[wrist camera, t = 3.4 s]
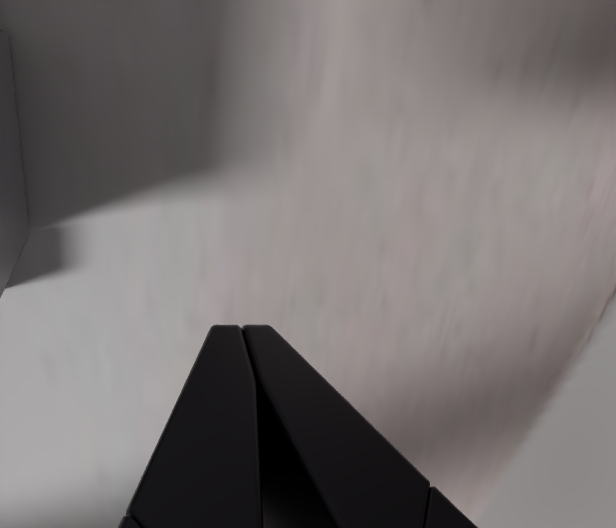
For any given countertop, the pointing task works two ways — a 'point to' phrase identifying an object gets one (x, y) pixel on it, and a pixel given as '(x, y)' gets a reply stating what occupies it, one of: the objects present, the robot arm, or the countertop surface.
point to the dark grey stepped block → (10, 171)
